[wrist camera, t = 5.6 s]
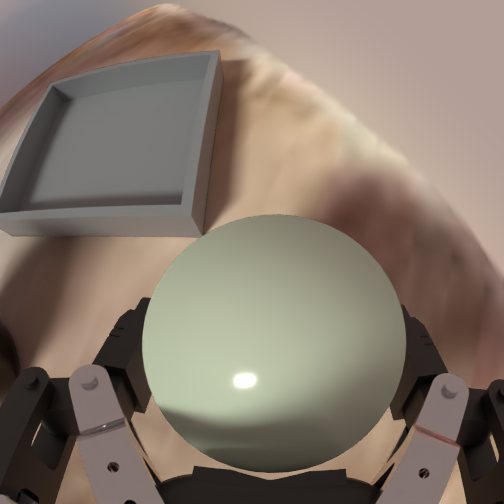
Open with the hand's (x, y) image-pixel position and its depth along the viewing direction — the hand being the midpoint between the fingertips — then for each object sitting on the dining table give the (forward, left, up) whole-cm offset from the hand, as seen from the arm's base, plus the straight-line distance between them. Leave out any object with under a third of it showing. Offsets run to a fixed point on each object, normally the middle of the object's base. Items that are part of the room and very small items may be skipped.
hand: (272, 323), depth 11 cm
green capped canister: (0, -1, -5) cm, 5 cm away
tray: (-12, +12, -5) cm, 18 cm away
